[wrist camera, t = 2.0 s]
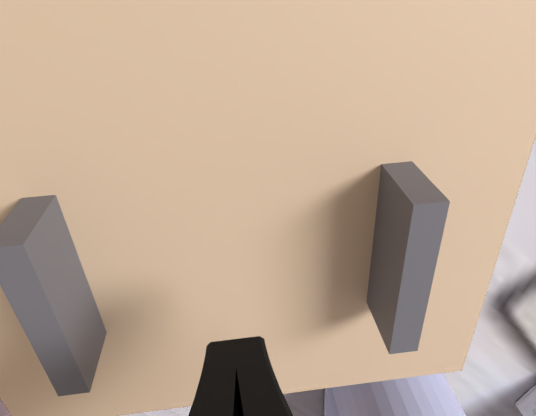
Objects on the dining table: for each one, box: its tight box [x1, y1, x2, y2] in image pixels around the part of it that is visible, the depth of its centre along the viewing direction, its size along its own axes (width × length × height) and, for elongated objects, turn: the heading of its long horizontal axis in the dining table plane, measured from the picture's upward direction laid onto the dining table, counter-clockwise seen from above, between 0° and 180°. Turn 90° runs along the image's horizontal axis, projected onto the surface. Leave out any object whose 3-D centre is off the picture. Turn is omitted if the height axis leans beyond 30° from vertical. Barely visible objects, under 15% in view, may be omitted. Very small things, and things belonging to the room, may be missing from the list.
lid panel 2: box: [202, 0, 536, 394], centre depth 14 cm, size 16×10×3 cm, turn 3°
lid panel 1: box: [0, 0, 242, 416], centre depth 13 cm, size 16×10×3 cm, turn 3°
